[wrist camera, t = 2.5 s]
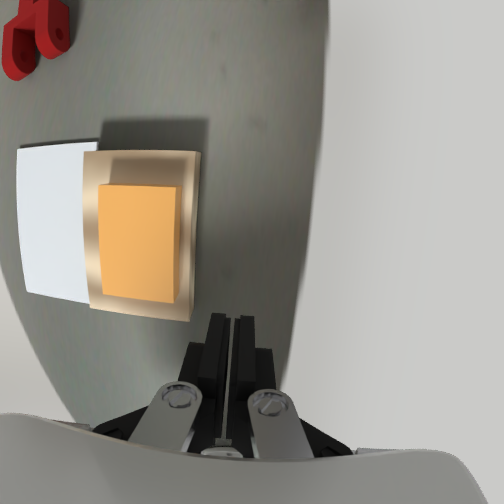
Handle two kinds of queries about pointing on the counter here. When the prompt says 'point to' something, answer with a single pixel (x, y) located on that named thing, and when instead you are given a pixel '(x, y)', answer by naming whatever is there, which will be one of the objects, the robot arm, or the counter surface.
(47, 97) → the counter surface
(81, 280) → the mat
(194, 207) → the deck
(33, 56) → the mechanical linkage
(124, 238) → the slab
